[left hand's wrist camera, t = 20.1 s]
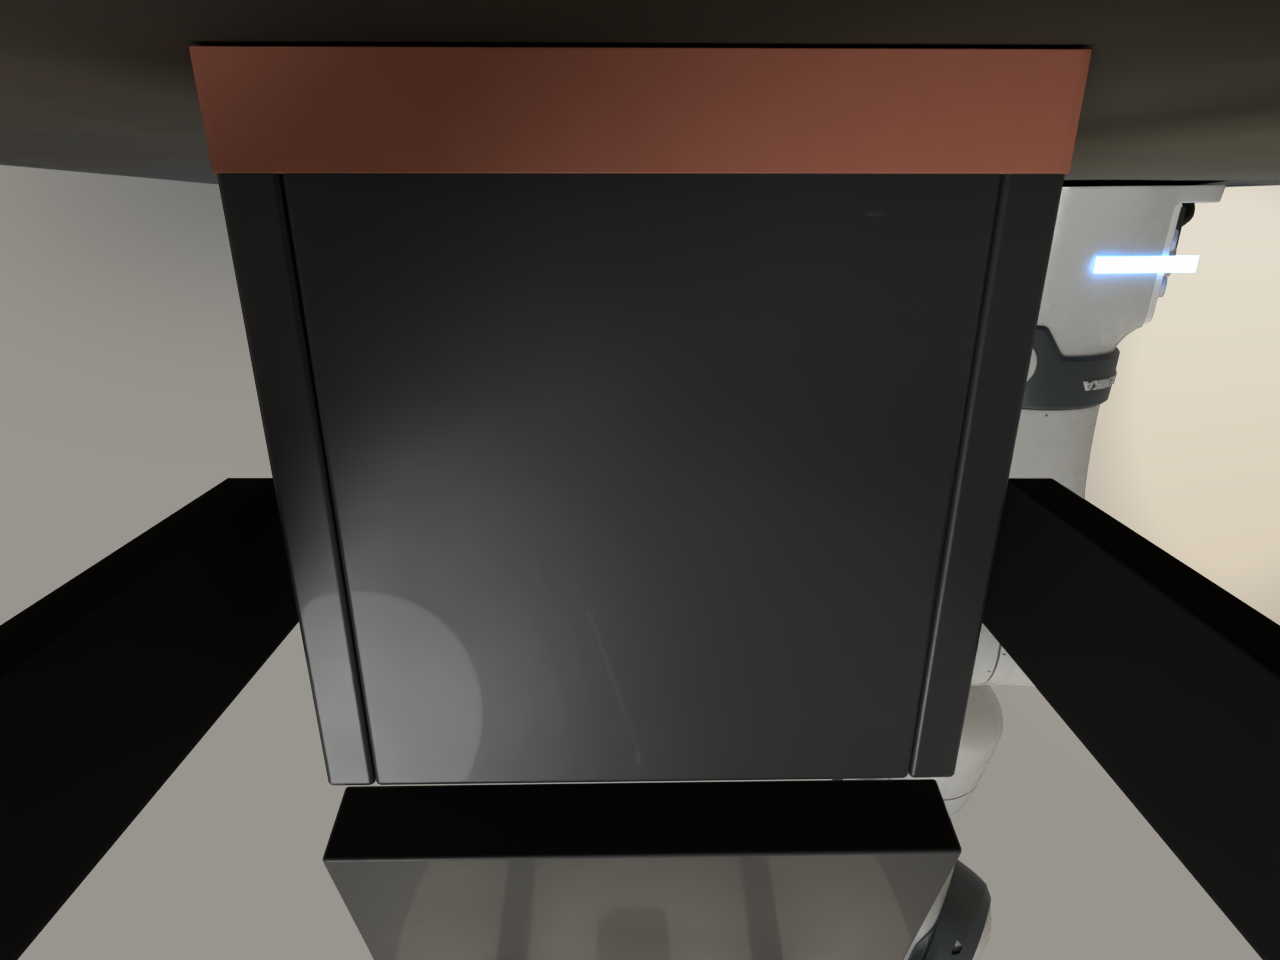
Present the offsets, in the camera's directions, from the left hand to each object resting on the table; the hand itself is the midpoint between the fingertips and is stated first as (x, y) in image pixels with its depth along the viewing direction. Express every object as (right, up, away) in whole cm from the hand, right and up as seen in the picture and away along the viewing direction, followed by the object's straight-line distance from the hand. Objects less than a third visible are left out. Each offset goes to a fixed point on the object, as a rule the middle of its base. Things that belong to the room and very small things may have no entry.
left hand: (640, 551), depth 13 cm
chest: (0, +8, +1) cm, 8 cm away
